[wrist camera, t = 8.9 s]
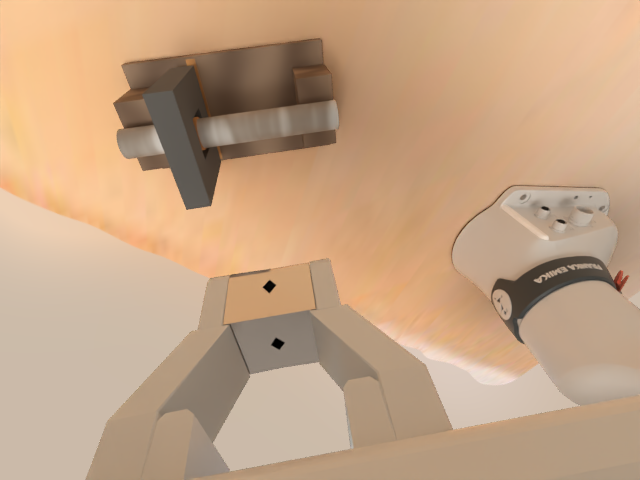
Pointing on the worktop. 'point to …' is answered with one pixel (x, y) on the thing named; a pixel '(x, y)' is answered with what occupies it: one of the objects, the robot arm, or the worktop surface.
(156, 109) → the dark grey flat slab
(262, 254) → the worktop surface
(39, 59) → the worktop surface
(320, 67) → the pipe stand
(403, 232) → the worktop surface
